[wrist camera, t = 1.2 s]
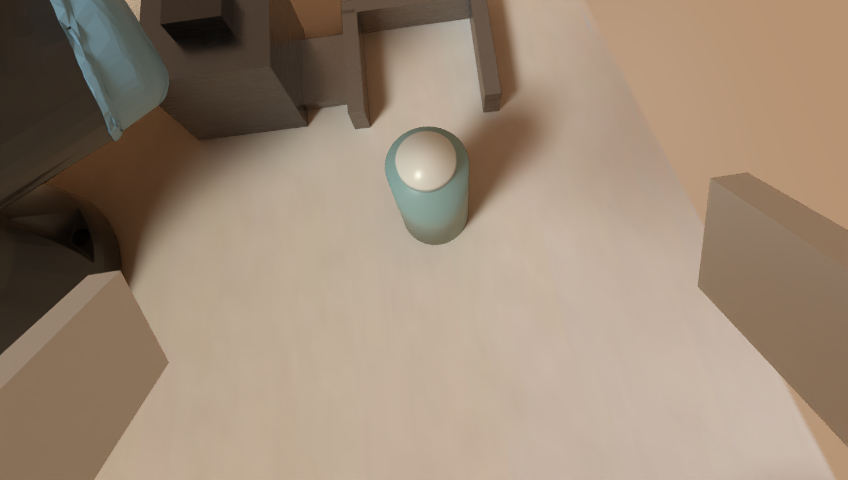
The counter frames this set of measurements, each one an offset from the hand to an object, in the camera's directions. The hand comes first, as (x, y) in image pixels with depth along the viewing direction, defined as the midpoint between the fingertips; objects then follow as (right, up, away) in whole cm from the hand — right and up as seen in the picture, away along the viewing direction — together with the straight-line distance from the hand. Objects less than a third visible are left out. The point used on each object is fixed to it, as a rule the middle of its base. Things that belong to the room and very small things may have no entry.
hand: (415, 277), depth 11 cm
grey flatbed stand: (-6, +14, +29) cm, 33 cm away
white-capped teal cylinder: (+1, +3, +26) cm, 26 cm away
